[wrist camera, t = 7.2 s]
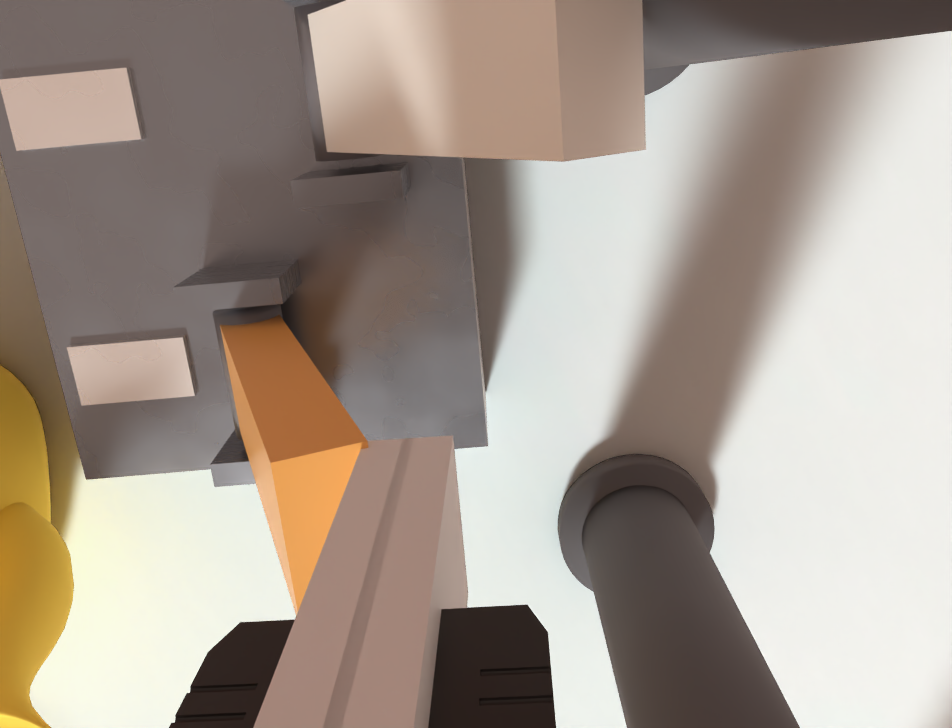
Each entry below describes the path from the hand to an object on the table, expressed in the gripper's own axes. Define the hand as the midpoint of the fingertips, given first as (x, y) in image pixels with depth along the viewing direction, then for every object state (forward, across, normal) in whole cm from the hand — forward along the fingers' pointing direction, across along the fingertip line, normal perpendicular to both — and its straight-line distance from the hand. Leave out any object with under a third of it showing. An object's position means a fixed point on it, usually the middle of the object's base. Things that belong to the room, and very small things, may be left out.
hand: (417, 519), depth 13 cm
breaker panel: (+13, -5, +3) cm, 14 cm away
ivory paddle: (+8, -2, +6) cm, 11 cm away
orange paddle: (+8, -5, 0) cm, 9 cm away
